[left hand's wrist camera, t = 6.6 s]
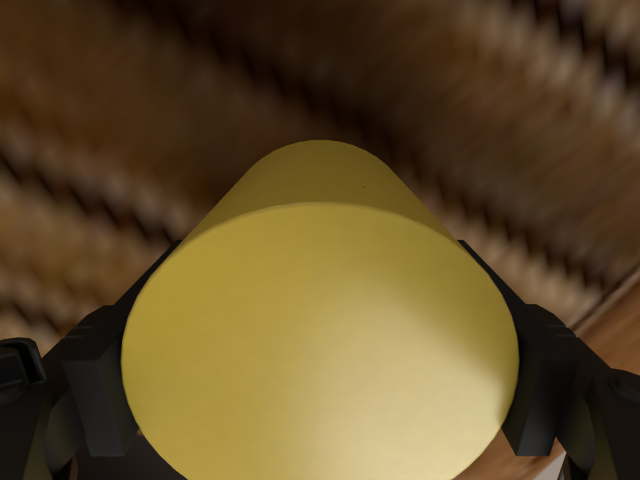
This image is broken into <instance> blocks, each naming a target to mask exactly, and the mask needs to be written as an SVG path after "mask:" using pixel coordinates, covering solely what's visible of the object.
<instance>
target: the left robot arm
mask: <svg viewBox="0 0 640 480" xmlns="http://www.w3.org/2000/svg"><path fill="white" fill-rule="evenodd" d="M182 241H183V240H176V241H175V242H174V243H173V245H172V246H171V247H170V248H169V249H168V250H167V251H166V252H165V253H164V254H163V255H162V256H161V257H160V258H159V259H158V260H157V261H156V262H155V263H154V264H153V265H152V266H151V267H150V268H149V269H148V270H147V271H146V272H145V273H144V274H143V275H142V276H141V277H140V278H139V279H138V280H137V281H136V282H135V284H134V285H133V286H132V287H131V288H130V289H129V290H128V291H127V292H126V293H125V294H124V295H123V296H122V297H121V298H120V299H119V300H118V301H117V302H116V303H115V304H114V305H104V306H102V307H101V308H99V309H97V310H95V311H94V312H92V313H90V314H88V315H87V316H86V317H85V318H83V319H82V320H81V321H80V322H79V323H78V324H77V325H76V326H75V329H72V330H71V331H70V332H69V333H68V334H67V335H66V336H65V339H61V340H60V341H59V342H58V343H57V344H56V345H55V346H54V347H53V348H52V349H51V350H50V351H49V352H48V353H47V354H46V355H45V356H44V357H43V358H42V359H41V356H40V353H39V350H38V347H37V344H36V342H35V341H33V340H31V339H30V338H20V337H17V338H10V339H4V340H0V480H76V479H77V470H78V468H77V462H76V458H75V455H74V453H75V452H76V450H77V449H78V447H79V446H80V444H81V443H82V441H83V440H84V439H86V442H87V445H88V448H89V451H90V455H91V456H124V455H125V453H126V451H127V450H128V448H129V446H130V444H131V442H132V440H133V438H134V437H135V435H136V433H137V431H138V429H139V426H138V424H137V423H136V421H135V418H134V416H133V414H132V411H131V409H130V407H129V404H128V402H127V398H126V394H125V390H124V386H123V382H122V371H121V351H122V339H123V335H124V331H125V327H126V323H127V319H128V316H129V314H130V311H131V309H132V307H133V305H134V302H135V300H136V298H137V296H138V294H139V293H140V291H141V290H142V288H143V287H144V285H145V284H146V282H147V281H148V279H149V277H150V276H151V275H152V274H153V273H154V272H155V270H156V269H157V268H158V267H159V266H160V265H161V264H162V263H163V262H164V261H165V259H166V258H167V257H168V256H169V255H170V254H171V253H172V252H173V251H174V250H175V249H176V248H177V246H178V245H179V244H180V243H181V242H182ZM457 241H458V242H459V243H460V244H461V245H462V246H463V247H464V249H465V250H466V251H467V252H468V253H469V254H470V255H471V256H472V257H473V258H474V259H475V260H476V261H477V263H478V264H479V265H480V266H481V267H482V268H483V269H484V270H485V271H486V272H487V273H488V275H489V276H490V278H491V279H492V281H493V282H494V283H495V285H496V286H497V288H498V289H499V291H500V292H501V294H502V296H503V298H504V300H505V302H506V305H507V307H508V309H509V311H510V313H511V316H512V319H513V323H514V327H515V330H516V334H517V340H518V350H519V372H518V382H517V386H516V390H515V395H514V399H513V402H512V404H511V407H510V409H509V412H508V414H507V417H506V419H505V421H504V422H503V424H502V426H501V429H502V431H503V432H504V434H505V436H506V438H507V440H508V442H509V444H510V445H511V447H512V449H513V451H514V453H515V455H516V456H550V452H551V449H552V446H553V443H554V440H555V437H556V438H557V439H558V441H559V442H560V443H561V445H562V446H563V448H564V449H565V451H566V452H567V453H566V455H565V458H564V461H563V464H562V467H561V470H560V473H559V476H558V479H557V480H640V376H639V375H636V374H633V373H630V372H627V371H625V370H619V369H612V368H610V367H609V366H608V365H607V364H606V363H605V362H604V361H603V360H602V359H601V358H600V357H599V356H598V355H597V354H595V353H594V352H593V351H592V350H591V349H590V348H589V347H588V346H587V345H586V344H585V343H584V342H583V341H582V340H581V339H580V338H579V337H576V335H575V334H574V333H573V332H572V331H571V330H570V329H569V328H566V325H565V324H564V323H563V322H562V321H561V320H560V319H558V318H557V317H556V316H555V315H554V314H553V313H551V312H549V311H547V310H546V309H544V308H542V307H540V306H539V305H537V304H525V303H524V302H523V301H522V300H521V299H520V298H519V297H518V296H517V295H516V294H515V292H514V291H513V290H512V289H511V288H510V287H509V286H508V285H507V284H506V283H505V282H504V281H503V280H502V279H501V278H500V277H499V276H498V275H497V274H496V273H495V272H494V271H493V270H492V269H491V268H490V267H489V266H488V265H487V264H486V263H485V262H484V261H483V260H482V259H481V258H480V257H479V256H478V255H477V253H476V252H475V251H474V250H473V249H472V248H471V247H470V246H469V245H468V244H467V243H466V242H465V241H464V240H457Z"/></svg>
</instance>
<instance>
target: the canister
mask: <svg viewBox="0 0 640 480" xmlns="http://www.w3.org/2000/svg"><path fill="white" fill-rule="evenodd" d="M121 371H122V382H123V386H124V390H125V394H126V398H127V402H128V404H129V407H130V409H131V411H132V414H133V416H134V418H135V421H136V423H137V424H138V426H139V427H140V429H141V431H142V432H143V434H144V436H145V437H146V439H147V440H148V441H149V442H150V444H151V445H152V446H153V447H154V449H155V450H156V451H157V452H158V453H159V455H160V456H161V457H162V458H163V459H165V460H166V461H167V462H168V463H169V464H170V465H171V466H172V467H173V468H174V469H175V470H176V471H178V472H179V473H181V474H182V475H183V476H184V477H186V478H187V479H188V480H452V479H453V478H455V477H456V476H457V475H458V474H460V473H461V472H462V471H464V470H465V469H466V468H467V467H468V466H469V465H470V464H472V463H473V462H474V461H475V460H476V459H477V458H478V457H479V456H480V455H481V454H482V453H483V451H484V450H485V449H486V448H487V446H488V445H489V444H490V443H491V441H492V440H493V439H494V437H495V436H496V434H497V433H498V431H499V429H500V428H501V426H502V424H503V422H504V421H505V419H506V417H507V414H508V412H509V409H510V407H511V404H512V402H513V399H514V395H515V390H516V386H517V382H518V372H519V350H518V340H517V334H516V330H515V327H514V323H513V319H512V316H511V313H510V311H509V309H508V307H507V305H506V302H505V300H504V298H503V296H502V294H501V292H500V291H499V289H498V288H497V286H496V285H495V283H494V282H493V281H492V279H491V278H490V276H489V275H488V273H487V272H486V271H485V270H484V269H483V268H482V267H481V266H480V265H479V264H478V263H477V261H476V260H475V259H474V258H473V257H472V256H471V255H470V254H469V253H468V252H467V251H466V250H465V249H464V247H463V246H462V245H461V244H460V243H459V242H458V241H457V240H456V239H455V238H454V237H453V236H452V235H451V233H450V232H449V231H448V230H447V229H446V228H445V227H444V226H443V225H442V224H441V223H440V222H439V221H438V219H437V218H436V217H435V216H434V215H433V214H432V213H431V212H430V211H429V210H428V209H427V208H426V207H425V206H424V204H423V203H422V202H421V201H420V200H419V199H418V198H417V197H416V196H415V195H414V194H413V193H412V192H411V190H410V189H409V188H408V187H407V186H406V185H405V184H404V183H403V182H402V181H401V180H400V179H399V178H398V176H397V175H396V174H395V173H394V172H393V171H392V170H391V169H390V168H389V167H388V166H387V165H386V164H385V163H383V162H382V161H381V160H380V159H378V158H377V157H376V156H374V155H372V154H371V153H369V152H367V151H365V150H363V149H361V148H358V147H356V146H354V145H350V144H347V143H343V142H338V141H330V140H309V141H302V142H297V143H294V144H290V145H287V146H284V147H282V148H279V149H277V150H275V151H273V152H271V153H270V154H268V155H266V156H265V157H263V158H262V159H260V160H259V161H258V162H257V163H255V164H254V165H253V166H252V167H251V168H250V169H249V170H248V171H247V172H246V173H245V174H244V175H243V177H242V178H241V179H240V180H239V181H238V182H237V183H236V184H235V185H234V186H233V187H232V188H231V189H230V191H229V192H228V193H227V194H226V195H225V196H224V197H223V198H222V199H221V200H220V201H219V202H218V203H217V205H216V206H215V207H214V208H213V209H212V210H211V211H210V212H209V213H208V214H207V215H206V216H205V217H204V219H203V220H202V221H201V222H200V223H199V224H198V225H197V226H196V227H195V228H194V229H193V230H192V231H191V233H190V234H189V235H188V236H187V237H186V238H185V239H184V240H183V241H182V242H181V243H180V244H179V245H178V246H177V248H176V249H175V250H174V251H173V252H172V253H171V254H170V255H169V256H168V257H167V258H166V259H165V261H164V262H163V263H162V264H161V265H160V266H159V267H158V268H157V269H156V270H155V272H154V273H153V274H152V275H151V276H150V277H149V279H148V281H147V282H146V284H145V285H144V287H143V288H142V290H141V291H140V293H139V294H138V296H137V298H136V300H135V302H134V305H133V307H132V309H131V311H130V314H129V316H128V319H127V323H126V327H125V331H124V335H123V339H122V351H121Z"/></svg>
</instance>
